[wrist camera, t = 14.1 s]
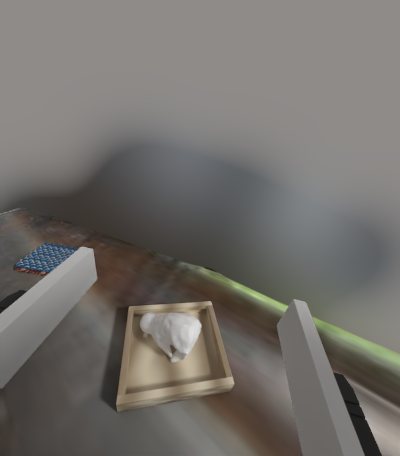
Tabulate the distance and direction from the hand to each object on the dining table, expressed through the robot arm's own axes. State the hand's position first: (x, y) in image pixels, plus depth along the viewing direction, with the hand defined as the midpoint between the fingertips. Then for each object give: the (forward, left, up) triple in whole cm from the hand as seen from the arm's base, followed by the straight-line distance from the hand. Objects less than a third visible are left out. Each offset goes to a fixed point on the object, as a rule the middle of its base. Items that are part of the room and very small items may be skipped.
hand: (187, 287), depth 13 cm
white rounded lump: (-1, -12, -29) cm, 32 cm away
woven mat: (+28, -37, -31) cm, 56 cm away
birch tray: (-3, -11, -30) cm, 32 cm away
